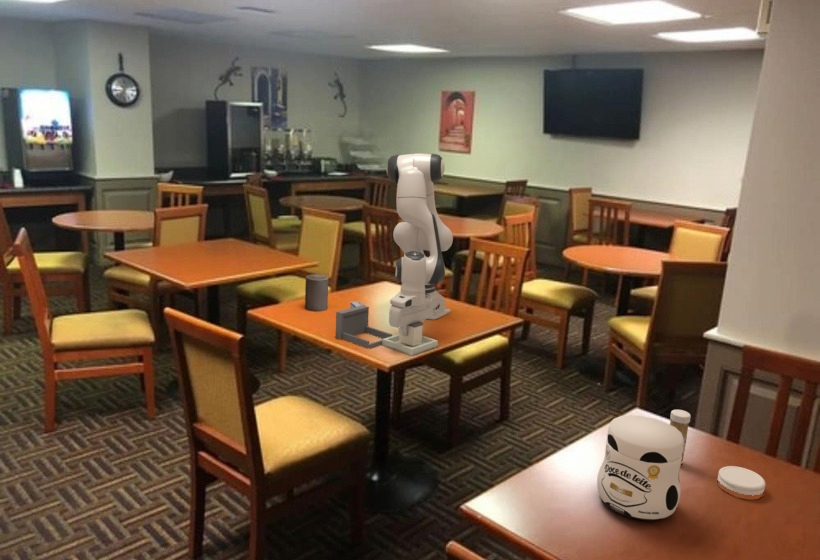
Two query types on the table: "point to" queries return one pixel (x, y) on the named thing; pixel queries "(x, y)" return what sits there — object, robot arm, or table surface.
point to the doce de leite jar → (641, 468)
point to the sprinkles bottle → (680, 424)
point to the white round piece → (741, 480)
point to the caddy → (412, 334)
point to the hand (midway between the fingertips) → (410, 334)
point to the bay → (357, 326)
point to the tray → (408, 349)
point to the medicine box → (355, 304)
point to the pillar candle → (316, 292)
